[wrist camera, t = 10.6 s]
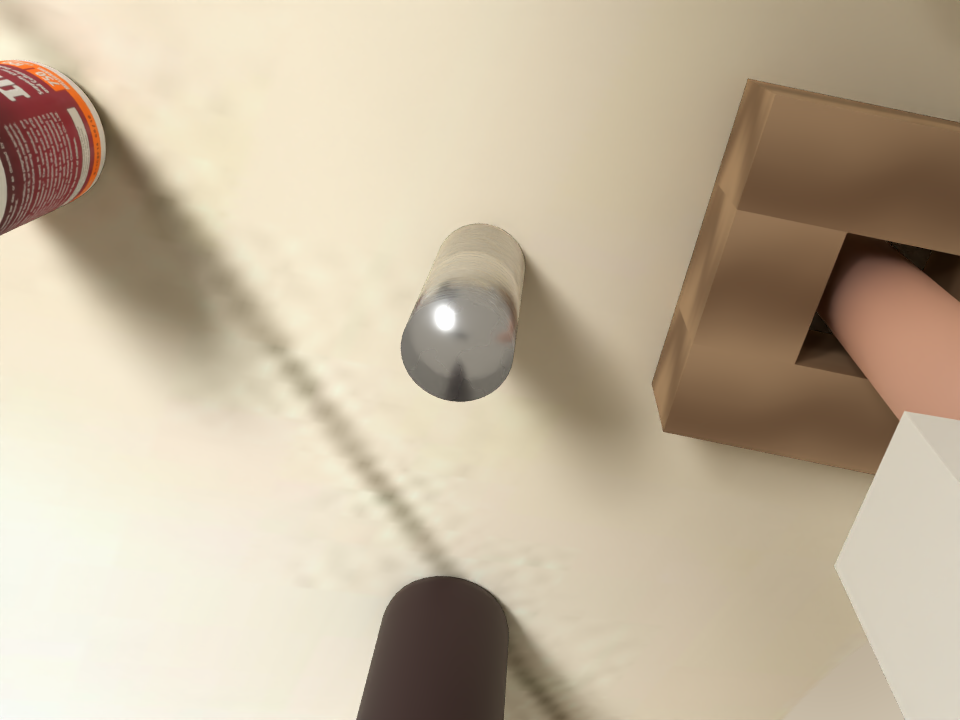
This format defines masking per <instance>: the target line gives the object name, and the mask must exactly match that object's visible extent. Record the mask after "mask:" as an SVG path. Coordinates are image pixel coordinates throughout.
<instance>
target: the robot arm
mask: <svg viewBox="0 0 960 720" xmlns="http://www.w3.org/2000/svg"><path fill="white" fill-rule="evenodd" d="M834 567H835V569H836V571H837V574H838V576H839V578H840V580H841V582H842V584H843V587H844V589H845V591H846V593H847V595H848V598H849V600H850V602H851V604H852V606H853V608H854V611H855V613H856V615H857V617H858V619H859V621H860V624H861V626H862V628H863V630H864V632H865V634H866V637H867V639H868V641H869V643H870V645H871V647H872V650H873V652H874V654H875V656H876V658H877V660H878V663H879V665H880V667H881V669H882V671H883V673H884V676H885V678H886V680H887V682H888V684H889V686H890V688H891V691H892V693H893V695H894V697H895V699H896V702H897V704H898V706H899V708H900V710H901V712H902V715H903V717H904V719H905V720H960V420H955V419H949V418H943V417H937V416H931V415H925V414H919V413H913V412H907V411H904V413H903V415H902V417H901V419H900V422H899V424H898V426H897V428H896V430H895V433H894V435H893V437H892V439H891V441H890V444H889V446H888V448H887V450H886V452H885V455H884V457H883V459H882V461H881V463H880V466H879V468H878V470H877V472H876V475H875V477H874V479H873V481H872V483H871V486H870V488H869V490H868V492H867V494H866V497H865V499H864V501H863V503H862V505H861V508H860V510H859V512H858V514H857V516H856V519H855V521H854V523H853V525H852V527H851V530H850V532H849V534H848V536H847V538H846V541H845V543H844V545H843V547H842V550H841V552H840V554H839V556H838V558H837V561H836V563H835V565H834Z"/></svg>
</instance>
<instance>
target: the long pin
mask: <svg viewBox="0 0 960 720" xmlns="http://www.w3.org/2000/svg"><path fill="white" fill-rule="evenodd" d="M816 312H817V313H818V314H819V316H820V317H821V318H822V320H823V321H824V322H825V324H826V325H827V326H828V327H829V329H830V330H831V331H832V333H833V334H834V335H835V337H836V338H837V339H838V341H839V342H840V343H841V345H842V346H843V347H844V349H845V350H846V351H847V352H848V354H849V355H850V356H851V358H852V359H853V360H854V362H855V363H856V364H857V366H858V367H859V368H860V370H861V371H862V372H863V373H864V375H865V376H866V377H867V379H868V380H869V381H870V383H871V384H872V385H873V387H874V388H875V389H876V391H877V392H878V393H879V394H880V396H881V397H882V398H883V400H884V401H885V402H886V404H887V405H888V406H889V408H890V409H891V410H892V412H893V413H894V414H895V416H896V417H897V418H898V419H899V421H900V419H901V417H902V415H903V413H904V411H907V412H913V413H919V414H925V415H931V416H937V417H943V418H949V419H955V420H960V302H959V301H958V300H956V299H955V298H954V297H953V296H952V295H950V294H949V293H948V292H947V291H945V290H944V289H943V288H942V287H941V286H939V285H938V284H937V283H936V282H935V281H933V280H932V279H931V278H930V277H929V276H927V275H926V274H925V273H924V272H923V271H921V270H920V269H919V268H918V267H917V266H915V265H914V264H913V263H912V262H910V261H909V260H908V259H907V258H906V257H904V256H903V255H902V254H901V253H900V252H898V251H897V250H896V249H895V248H894V247H892V246H891V245H890V244H889V243H888V242H886V241H885V240H882V239H877V238H872V237H867V236H862V235H857V234H853V233H847V234H846V236H845V239H844V241H843V244H842V247H841V249H840V252H839V254H838V257H837V259H836V262H835V264H834V267H833V269H832V272H831V274H830V277H829V279H828V282H827V284H826V287H825V289H824V292H823V294H822V297H821V299H820V302H819V304H818V307H817V309H816Z"/></svg>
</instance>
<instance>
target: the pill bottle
mask: <svg viewBox="0 0 960 720" xmlns="http://www.w3.org/2000/svg"><path fill="white" fill-rule="evenodd" d="M105 155H106V142H105V135H104V131H103V127H102V124H101V121H100V118H99V116H98V114H97V112H96V110H95V108H94V106H93V104H92V103H91V101H90V100H89V99H88V97H87V96H86V95H85V93H84V92H83V91H82V90H81V89H80V88H79V87H78V86H77V85H76V84H75V83H74V82H73V81H72V80H71V79H69V78H68V77H67V76H65V75H64V74H62V73H61V72H59V71H57V70H56V69H54V68H52V67H50V66H47V65H44V64H41V63H38V62H33V61H27V60H7V61H0V235H2V234H4V233H7V232H9V231H11V230H13V229H15V228H17V227H19V226H21V225H23V224H26V223H28V222H30V221H32V220H34V219H36V218H38V217H41V216H43V215H45V214H47V213H49V212H51V211H53V210H55V209H57V208H59V207H61V206H64V205H66V204H68V203H70V202H72V201H74V200H75V199H77V198H78V197H80V196H82V195H83V194H85V193H86V192H87V191H88V190H89V189H90V188H91V187H92V186H93V185H94V184H95V182H96V181H97V179H98V178H99V176H100V174H101V171H102V169H103V166H104V162H105Z"/></svg>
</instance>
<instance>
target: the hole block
mask: <svg viewBox="0 0 960 720" xmlns="http://www.w3.org/2000/svg"><path fill="white" fill-rule="evenodd" d="M847 232H848V233H853V234H857V235H862V236H867V237H872V238H877V239H882V240H887V241H891V242H896V243H901V244H906V245H911V246H916V247H920V248H925V249H930V250H932V252H931V254H930V257H929V259H928V261H927V263H926V265H925V268H924V270H923V272H924V273H925V274H926V275H927V276H929V277H930V278H931V279H932V280H933V281H935V282H936V283H937V284H938V285H939V286H941V287H942V288H943V289H944V290H945V291H947V292H948V293H949V294H950V295H952V296H953V297H954V298H955V299H956V300H958V301H959V302H960V123H958V122H954V121H949V120H944V119H939V118H934V117H930V116H925V115H920V114H915V113H910V112H906V111H901V110H896V109H891V108H886V107H882V106H877V105H872V104H867V103H862V102H857V101H853V100H848V99H843V98H838V97H833V96H829V95H824V94H819V93H814V92H809V91H805V90H800V89H795V88H790V87H785V86H781V85H776V84H771V83H766V82H761V81H757V80H752V79H748V80H747V83H746V87H745V90H744V93H743V96H742V99H741V102H740V106H739V109H738V112H737V115H736V118H735V121H734V125H733V128H732V131H731V134H730V137H729V140H728V144H727V147H726V150H725V153H724V156H723V159H722V163H721V166H720V169H719V172H718V175H717V178H716V182H715V185H714V188H713V191H712V194H711V197H710V201H709V204H708V207H707V210H706V213H705V216H704V220H703V223H702V226H701V229H700V232H699V235H698V239H697V242H696V245H695V248H694V251H693V255H692V258H691V261H690V264H689V267H688V270H687V274H686V277H685V280H684V283H683V286H682V289H681V293H680V296H679V299H678V302H677V305H676V308H675V312H674V315H673V318H672V321H671V324H670V327H669V331H668V334H667V337H666V340H665V343H664V346H663V350H662V353H661V356H660V359H659V362H658V365H657V369H656V372H655V375H654V378H653V381H652V387H653V391H654V395H655V399H656V403H657V407H658V412H659V416H660V420H661V424H662V428H663V432H667V433H672V434H677V435H682V436H687V437H692V438H697V439H701V440H706V441H711V442H716V443H721V444H726V445H731V446H736V447H741V448H746V449H751V450H756V451H761V452H765V453H770V454H775V455H780V456H785V457H790V458H795V459H800V460H805V461H810V462H815V463H820V464H825V465H829V466H834V467H839V468H844V469H849V470H854V471H859V472H864V473H869V474H874V475H876V472H877V470H878V468H879V466H880V463H881V461H882V459H883V457H884V455H885V452H886V450H887V448H888V446H889V444H890V441H891V439H892V437H893V435H894V433H895V430H896V428H897V426H898V424H899V422H900V421H899V419H898V418H897V417H896V416H895V414H894V413H893V412H892V410H891V409H890V408H889V406H888V405H887V404H886V402H885V401H884V400H883V398H882V397H881V396H880V394H879V393H878V392H877V391H876V389H875V388H874V387H873V385H872V384H871V383H870V381H869V380H868V379H867V377H866V376H865V375H864V373H863V372H862V371H861V370H860V368H859V367H858V366H857V364H856V363H855V362H854V360H853V359H852V358H851V356H850V355H849V354H848V352H847V351H846V350H845V349H844V347H843V346H842V345H841V343H840V342H839V341H838V339H837V338H836V337H835V335H833V334H829V333H824V332H819V331H814V330H809V327H810V325H811V322H812V320H813V317H814V314H815V312H816V309H817V307H818V304H819V302H820V299H821V297H822V294H823V292H824V289H825V287H826V284H827V282H828V279H829V277H830V274H831V272H832V269H833V267H834V264H835V262H836V259H837V257H838V254H839V252H840V249H841V247H842V244H843V241H844V239H845V236H846V234H847Z"/></svg>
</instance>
